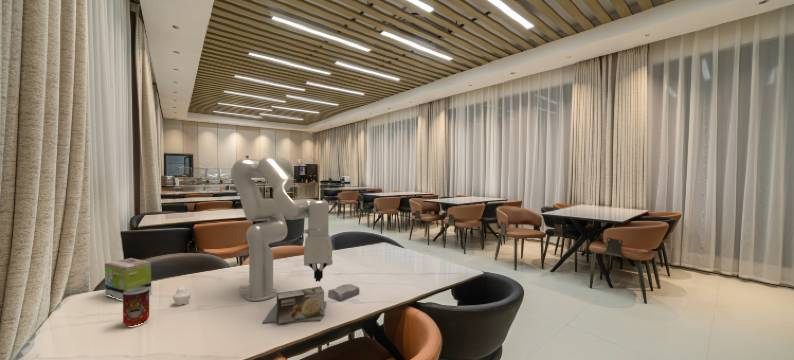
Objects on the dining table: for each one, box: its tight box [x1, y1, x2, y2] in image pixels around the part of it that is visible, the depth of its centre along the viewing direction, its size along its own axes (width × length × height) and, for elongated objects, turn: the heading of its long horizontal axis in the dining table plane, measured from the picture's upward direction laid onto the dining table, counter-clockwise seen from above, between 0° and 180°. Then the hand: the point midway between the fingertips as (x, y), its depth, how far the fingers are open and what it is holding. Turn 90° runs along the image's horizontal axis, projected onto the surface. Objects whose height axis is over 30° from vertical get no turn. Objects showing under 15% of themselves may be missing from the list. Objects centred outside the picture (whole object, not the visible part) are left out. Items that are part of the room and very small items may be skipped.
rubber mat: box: [262, 300, 327, 324], centre depth 117 cm, size 20×16×1 cm
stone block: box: [327, 283, 360, 302], centre depth 134 cm, size 12×5×10 cm
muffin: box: [172, 286, 192, 306], centre depth 124 cm, size 6×6×7 cm
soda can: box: [122, 286, 150, 327], centre depth 108 cm, size 7×7×12 cm
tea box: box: [104, 257, 152, 300], centre depth 132 cm, size 15×10×15 cm, turn 68°
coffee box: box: [276, 286, 325, 324], centre depth 112 cm, size 9×6×16 cm
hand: (318, 280), depth 117 cm, fingers closed
